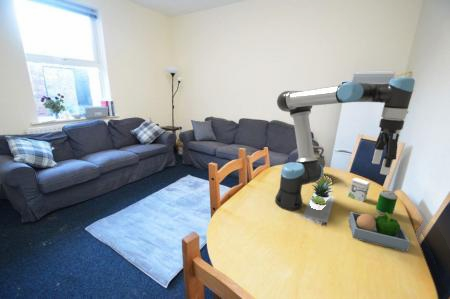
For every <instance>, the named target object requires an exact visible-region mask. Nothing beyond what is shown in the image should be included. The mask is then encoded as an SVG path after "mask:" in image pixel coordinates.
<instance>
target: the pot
mask: <svg viewBox="0 0 450 299" xmlns="http://www.w3.org/2000/svg"><path fill="white" fill-rule="evenodd" d="M314 149H315V150H314ZM320 150H321V152H320ZM313 151H314V156H315V157H316V158H317V159H318V162H319V163H320V165H322V167H323V169H324V168H325V167H326V160H325V156H324V155H323V154H324V151H325V150H324V147H322V146H319V145H318V146H317V145H313ZM298 159H299V157H298V158H297V159H296V160H295V162H296V163H297V160H298Z"/></svg>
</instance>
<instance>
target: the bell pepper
mask: <svg viewBox="0 0 450 299" xmlns="http://www.w3.org/2000/svg"><path fill="white" fill-rule="evenodd" d="M385 214H386V215H387V216H386V215H382V214H379V215H378V216H377V220H376V229H377V231H378V233H379V234H383V235H387V236H392V237H394V236H395V235H396V234H397V232H398V231H399V229H400V226H401V224H400V223H399V221H398V220H397V219H396V218H391V215H389V214H388V213H387V212H385Z"/></svg>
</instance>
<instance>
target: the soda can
mask: <svg viewBox="0 0 450 299" xmlns="http://www.w3.org/2000/svg"><path fill="white" fill-rule="evenodd" d="M397 201H398V195H397V194H396V193H395V192H393V191H390V190H384V189H383V190H382V191H380V192H379V196H378V199H377V203H376V207H375V210H376V211H377V213H378V214H379V215H381V216H383V215H386V214H385V212H387V213H388V214H389V215H390V216H392V215H393V214H394V211H395V208H396V204H397ZM386 216H387V215H386Z"/></svg>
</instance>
